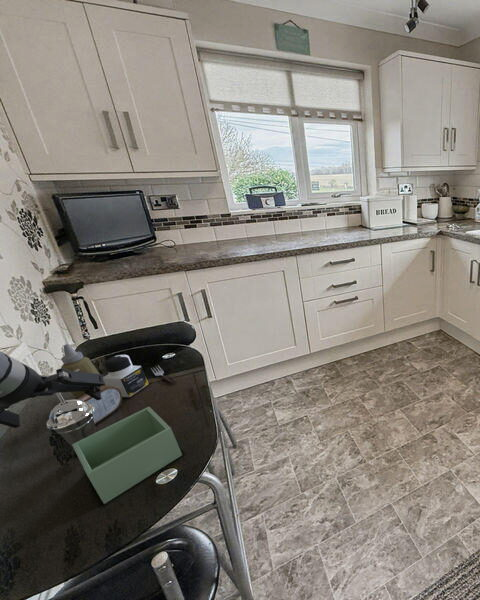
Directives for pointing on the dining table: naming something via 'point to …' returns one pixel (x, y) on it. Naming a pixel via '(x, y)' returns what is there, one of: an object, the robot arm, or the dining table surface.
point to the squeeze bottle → (77, 364)
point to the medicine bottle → (124, 375)
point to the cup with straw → (72, 419)
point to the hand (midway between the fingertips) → (59, 407)
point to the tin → (104, 402)
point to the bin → (126, 452)
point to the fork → (161, 374)
